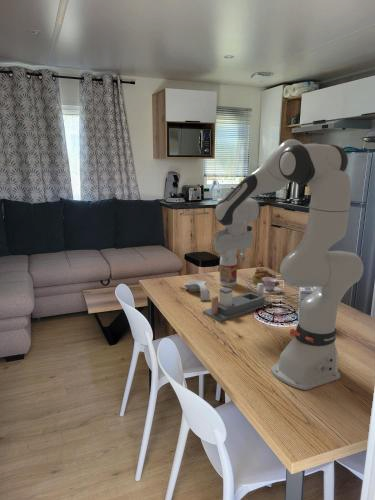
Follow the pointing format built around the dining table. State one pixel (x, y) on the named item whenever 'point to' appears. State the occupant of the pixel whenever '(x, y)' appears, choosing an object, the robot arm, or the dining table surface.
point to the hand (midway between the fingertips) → (233, 259)
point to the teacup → (270, 285)
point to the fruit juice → (228, 269)
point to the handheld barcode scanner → (198, 288)
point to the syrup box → (303, 296)
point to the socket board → (237, 305)
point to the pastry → (261, 275)
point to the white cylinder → (225, 297)
